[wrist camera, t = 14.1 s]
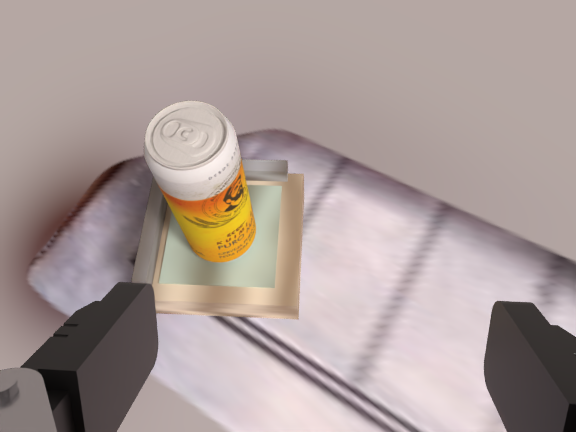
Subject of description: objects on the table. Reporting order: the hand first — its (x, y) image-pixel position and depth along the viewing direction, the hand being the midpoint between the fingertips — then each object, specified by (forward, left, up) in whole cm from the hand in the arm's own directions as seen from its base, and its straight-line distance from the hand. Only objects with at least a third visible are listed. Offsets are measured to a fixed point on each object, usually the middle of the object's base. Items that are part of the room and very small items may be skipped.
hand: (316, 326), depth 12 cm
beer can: (+9, -15, -29) cm, 34 cm away
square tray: (+9, -16, -33) cm, 37 cm away
